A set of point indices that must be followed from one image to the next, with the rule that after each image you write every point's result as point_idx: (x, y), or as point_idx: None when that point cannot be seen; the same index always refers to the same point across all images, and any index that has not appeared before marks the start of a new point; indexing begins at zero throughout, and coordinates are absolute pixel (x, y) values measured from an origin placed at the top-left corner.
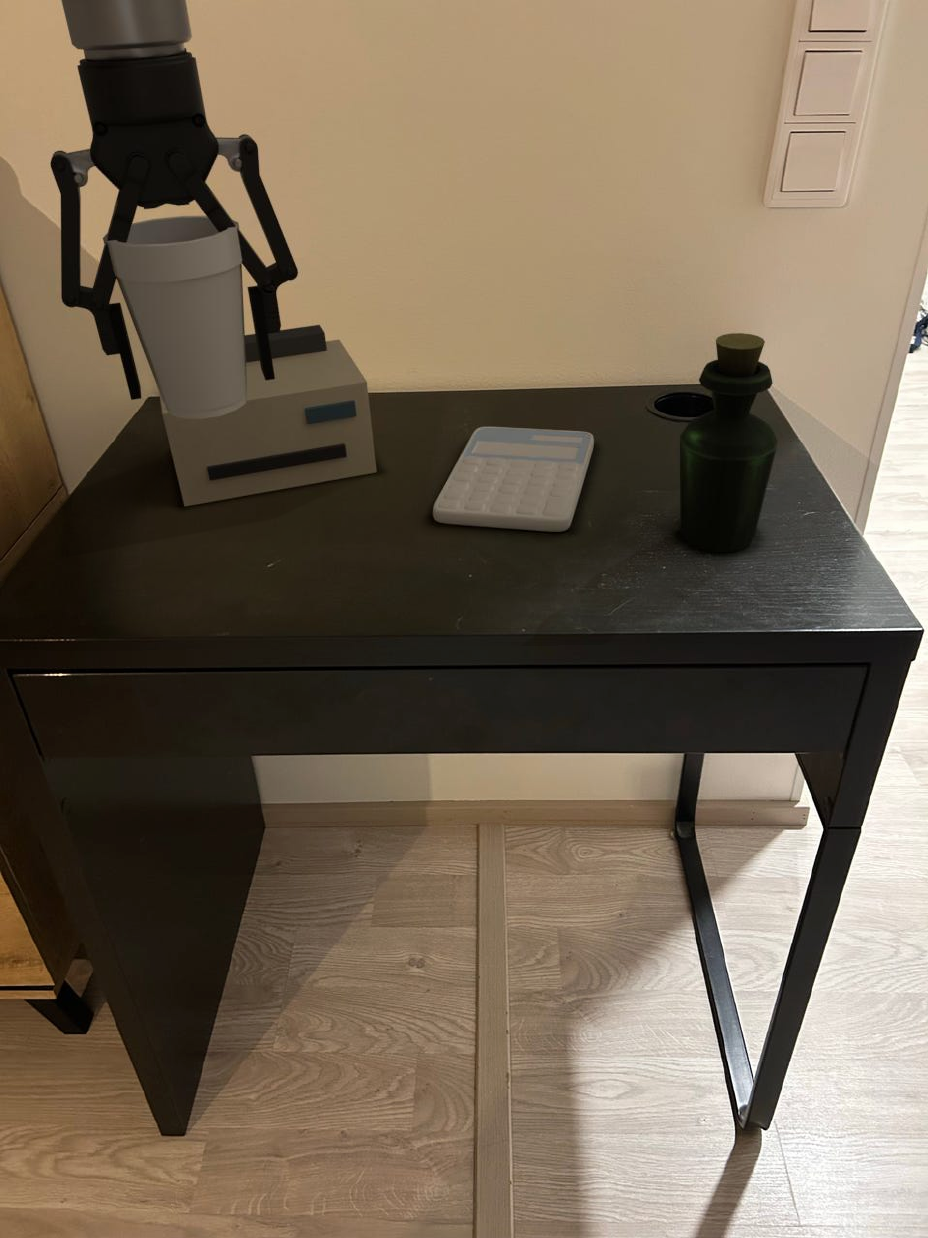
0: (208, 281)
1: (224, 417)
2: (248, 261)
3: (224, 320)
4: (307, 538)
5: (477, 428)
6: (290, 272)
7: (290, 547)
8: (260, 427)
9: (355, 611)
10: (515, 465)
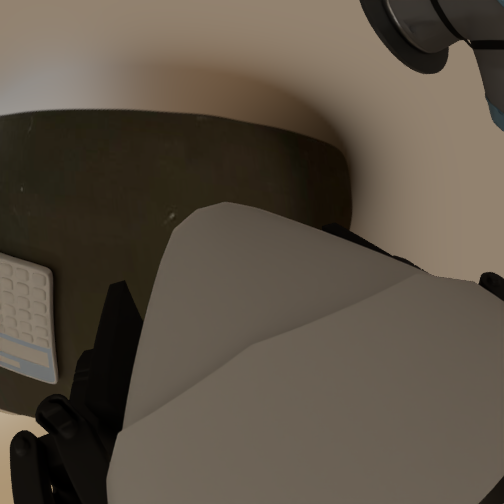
0: (200, 364)
1: None
2: (103, 487)
3: (163, 298)
4: (146, 255)
5: (55, 382)
6: (18, 443)
7: (158, 242)
8: None
9: (98, 139)
10: (13, 329)
